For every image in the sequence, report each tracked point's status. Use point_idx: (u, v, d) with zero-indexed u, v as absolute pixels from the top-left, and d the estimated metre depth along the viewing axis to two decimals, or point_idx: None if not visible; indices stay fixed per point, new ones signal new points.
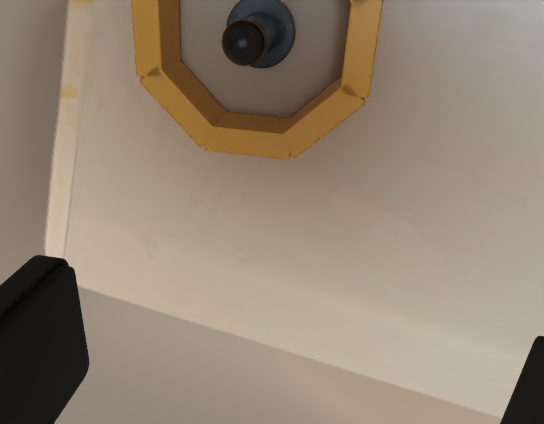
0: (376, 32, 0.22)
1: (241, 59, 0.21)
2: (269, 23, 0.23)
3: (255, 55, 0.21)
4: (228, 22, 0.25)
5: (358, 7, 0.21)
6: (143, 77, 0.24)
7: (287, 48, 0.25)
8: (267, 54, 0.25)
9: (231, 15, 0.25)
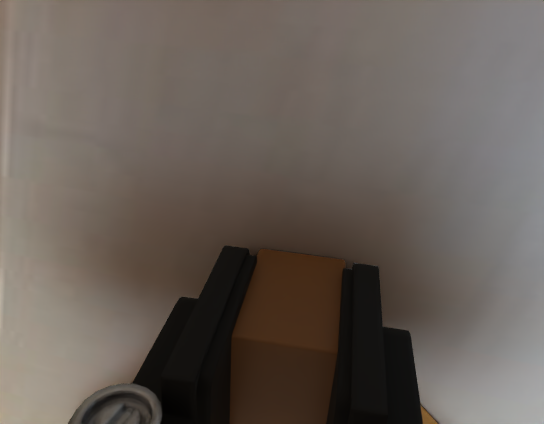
0: None
1: None
2: None
3: None
4: None
5: None
6: None
7: None
8: None
9: None
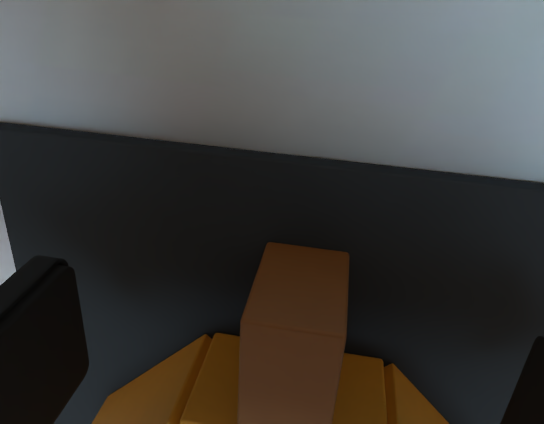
0: None
1: None
2: None
3: None
4: None
5: None
6: None
7: None
8: None
9: None
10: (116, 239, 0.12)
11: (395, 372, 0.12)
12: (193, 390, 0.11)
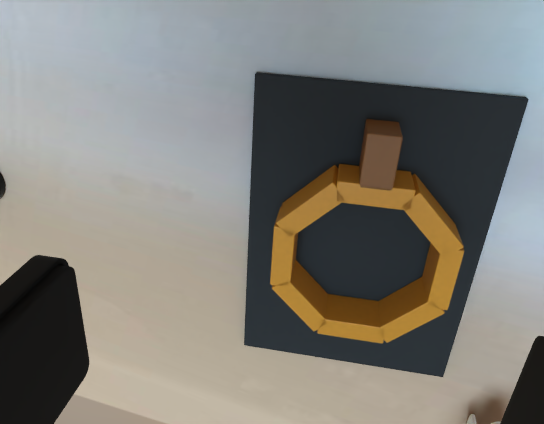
0: (457, 272, 0.30)
1: None
2: None
3: None
4: None
5: (445, 257, 0.29)
6: (275, 286, 0.32)
7: None
8: None
9: None
10: (301, 121, 0.30)
11: (416, 175, 0.30)
12: (338, 175, 0.29)
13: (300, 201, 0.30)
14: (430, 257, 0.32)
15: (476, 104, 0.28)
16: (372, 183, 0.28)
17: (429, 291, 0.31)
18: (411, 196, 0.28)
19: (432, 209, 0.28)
